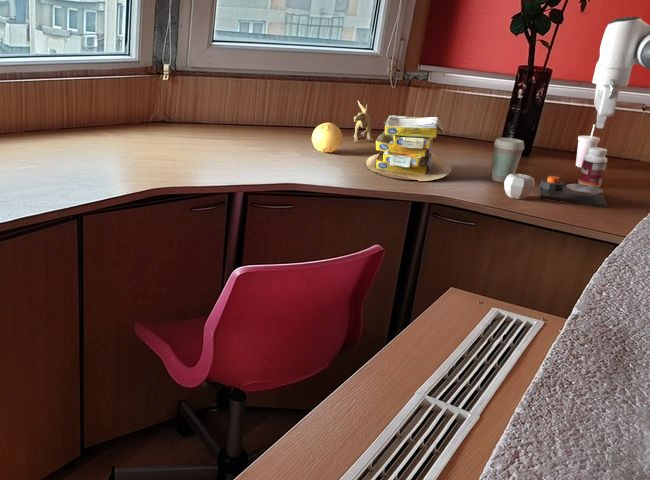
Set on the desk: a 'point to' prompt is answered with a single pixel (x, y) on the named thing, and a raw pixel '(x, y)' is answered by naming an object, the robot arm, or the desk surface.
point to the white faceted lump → (518, 185)
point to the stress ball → (327, 137)
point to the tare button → (553, 179)
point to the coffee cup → (506, 157)
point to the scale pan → (584, 189)
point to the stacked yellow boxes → (409, 149)
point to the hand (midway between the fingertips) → (599, 127)
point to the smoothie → (585, 146)
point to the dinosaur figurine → (362, 124)
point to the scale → (568, 195)
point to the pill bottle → (593, 167)
